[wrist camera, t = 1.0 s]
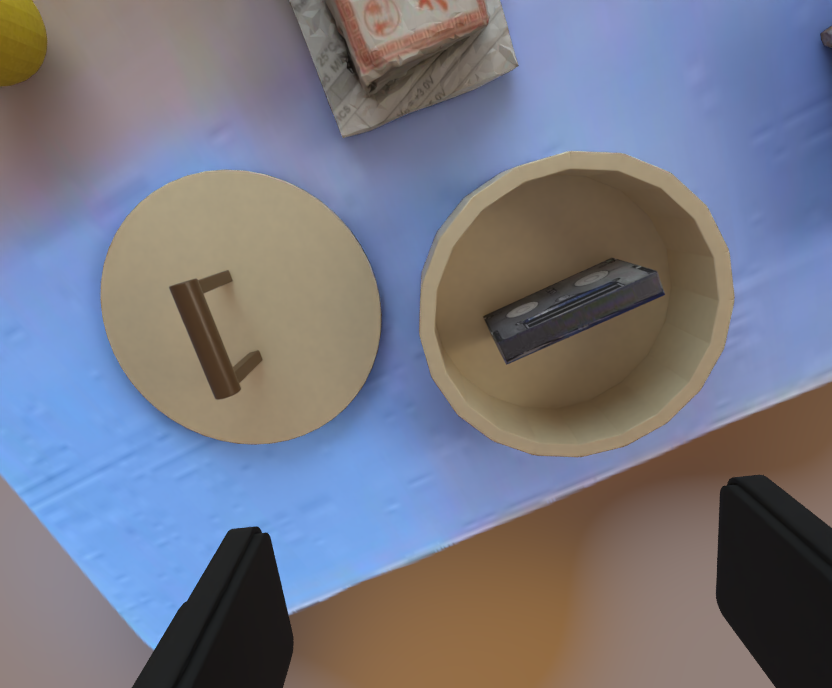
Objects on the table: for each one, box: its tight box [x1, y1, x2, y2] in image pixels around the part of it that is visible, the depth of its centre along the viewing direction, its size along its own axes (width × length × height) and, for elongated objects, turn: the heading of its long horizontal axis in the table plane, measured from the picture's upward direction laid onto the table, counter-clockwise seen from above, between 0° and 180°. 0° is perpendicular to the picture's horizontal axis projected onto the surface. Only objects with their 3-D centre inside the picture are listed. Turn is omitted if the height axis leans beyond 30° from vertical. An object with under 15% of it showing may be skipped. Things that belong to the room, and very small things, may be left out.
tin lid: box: [101, 170, 382, 444], centre depth 28 cm, size 17×17×7 cm
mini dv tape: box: [483, 258, 665, 365], centre depth 27 cm, size 8×2×6 cm, turn 116°
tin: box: [419, 151, 735, 457], centre depth 28 cm, size 16×16×5 cm
